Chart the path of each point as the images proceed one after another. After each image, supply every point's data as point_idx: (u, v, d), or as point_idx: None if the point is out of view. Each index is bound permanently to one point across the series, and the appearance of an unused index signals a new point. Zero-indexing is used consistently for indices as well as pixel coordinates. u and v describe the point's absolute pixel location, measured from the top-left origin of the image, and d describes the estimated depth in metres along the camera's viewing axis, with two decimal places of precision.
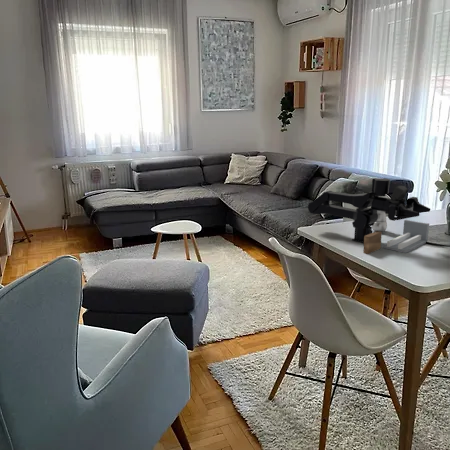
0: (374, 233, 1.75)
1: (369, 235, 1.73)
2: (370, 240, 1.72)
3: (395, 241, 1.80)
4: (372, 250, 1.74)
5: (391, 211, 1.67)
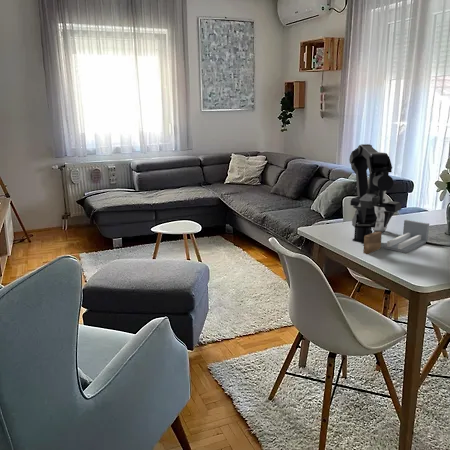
0: (374, 233, 1.75)
1: (369, 235, 1.73)
2: (370, 240, 1.72)
3: (395, 241, 1.80)
4: (372, 250, 1.74)
5: None
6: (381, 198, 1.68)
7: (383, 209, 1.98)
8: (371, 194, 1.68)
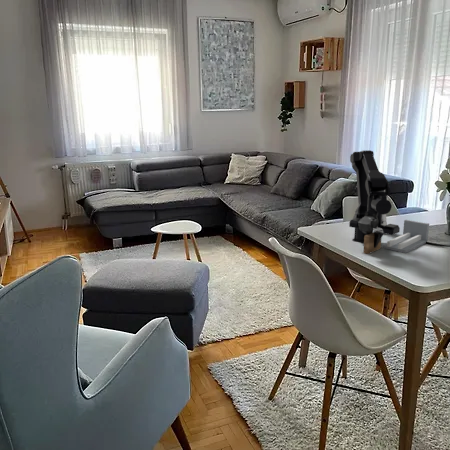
0: None
1: (369, 235, 1.73)
2: (370, 240, 1.72)
3: (395, 241, 1.80)
4: (372, 250, 1.74)
5: None
6: (379, 221, 1.71)
7: None
8: (370, 217, 1.70)
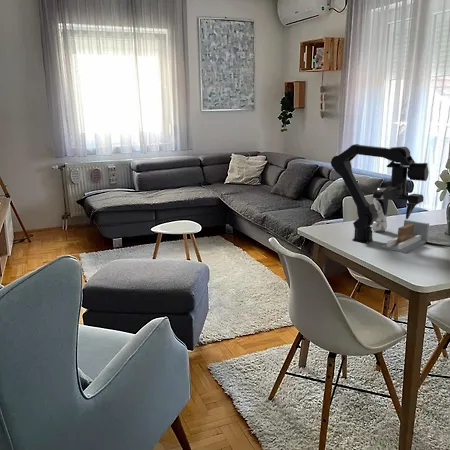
0: (407, 225, 1.81)
1: (403, 227, 1.79)
2: (404, 232, 1.78)
3: (395, 241, 1.80)
4: None
5: None
6: (403, 190, 1.74)
7: None
8: (394, 187, 1.73)
